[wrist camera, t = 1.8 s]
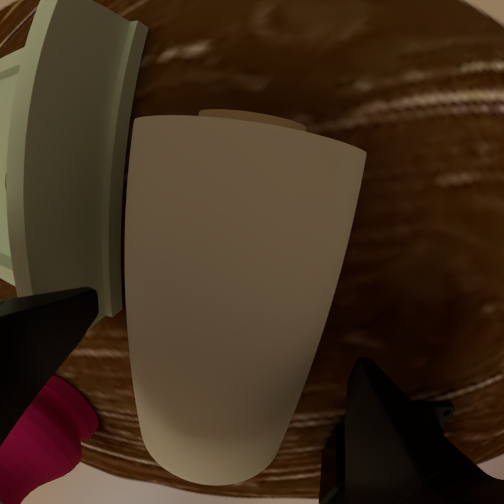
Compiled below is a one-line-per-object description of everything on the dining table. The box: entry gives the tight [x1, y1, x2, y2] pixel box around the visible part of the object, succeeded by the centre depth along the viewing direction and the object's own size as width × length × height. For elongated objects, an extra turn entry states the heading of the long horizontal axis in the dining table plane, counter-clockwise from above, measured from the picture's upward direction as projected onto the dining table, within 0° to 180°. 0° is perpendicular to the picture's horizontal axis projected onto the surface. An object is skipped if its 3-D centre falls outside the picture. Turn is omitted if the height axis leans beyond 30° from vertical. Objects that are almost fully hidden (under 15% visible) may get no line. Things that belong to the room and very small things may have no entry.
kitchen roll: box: [125, 109, 367, 485], centre depth 10 cm, size 13×6×6 cm, turn 171°
